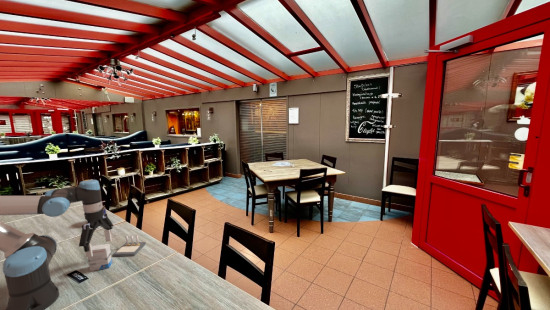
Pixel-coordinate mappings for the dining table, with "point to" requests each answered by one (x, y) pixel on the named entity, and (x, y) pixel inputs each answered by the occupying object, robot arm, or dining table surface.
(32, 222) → the dining table surface
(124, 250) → the header board
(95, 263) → the ink box
